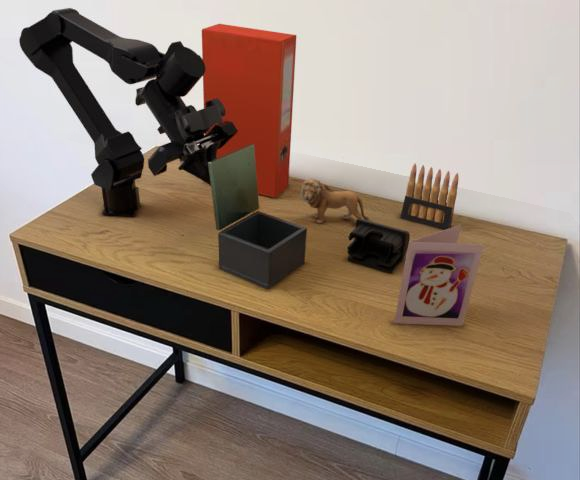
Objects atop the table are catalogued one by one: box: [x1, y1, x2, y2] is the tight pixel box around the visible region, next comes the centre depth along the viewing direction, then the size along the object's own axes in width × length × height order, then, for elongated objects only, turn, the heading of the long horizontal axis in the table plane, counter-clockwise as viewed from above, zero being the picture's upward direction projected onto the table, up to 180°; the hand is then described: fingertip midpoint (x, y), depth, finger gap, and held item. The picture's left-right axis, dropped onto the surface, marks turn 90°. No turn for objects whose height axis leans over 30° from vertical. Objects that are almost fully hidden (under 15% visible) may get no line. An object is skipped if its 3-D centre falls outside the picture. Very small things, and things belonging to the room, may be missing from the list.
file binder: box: [201, 23, 297, 198], centre depth 136 cm, size 8×17×32 cm, turn 67°
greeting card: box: [393, 224, 485, 327], centre depth 102 cm, size 11×7×15 cm, turn 90°
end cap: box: [346, 218, 411, 274], centre depth 119 cm, size 10×7×7 cm
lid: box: [208, 144, 260, 231], centre depth 111 cm, size 12×12×1 cm
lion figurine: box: [300, 178, 370, 226], centre depth 131 cm, size 15×5×9 cm, turn 94°
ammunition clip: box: [400, 163, 460, 230], centre depth 131 cm, size 11×2×12 cm, turn 62°
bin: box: [217, 210, 308, 290], centre depth 115 cm, size 11×12×7 cm
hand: (221, 188), depth 114 cm, fingers closed
